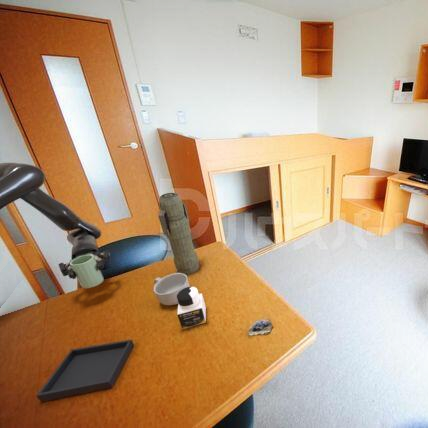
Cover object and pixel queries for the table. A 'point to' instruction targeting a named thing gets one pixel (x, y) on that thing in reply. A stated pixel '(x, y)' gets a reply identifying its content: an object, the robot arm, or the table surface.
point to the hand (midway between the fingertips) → (86, 272)
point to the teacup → (170, 287)
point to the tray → (87, 370)
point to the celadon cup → (87, 271)
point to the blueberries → (260, 327)
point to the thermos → (178, 232)
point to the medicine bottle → (191, 307)
